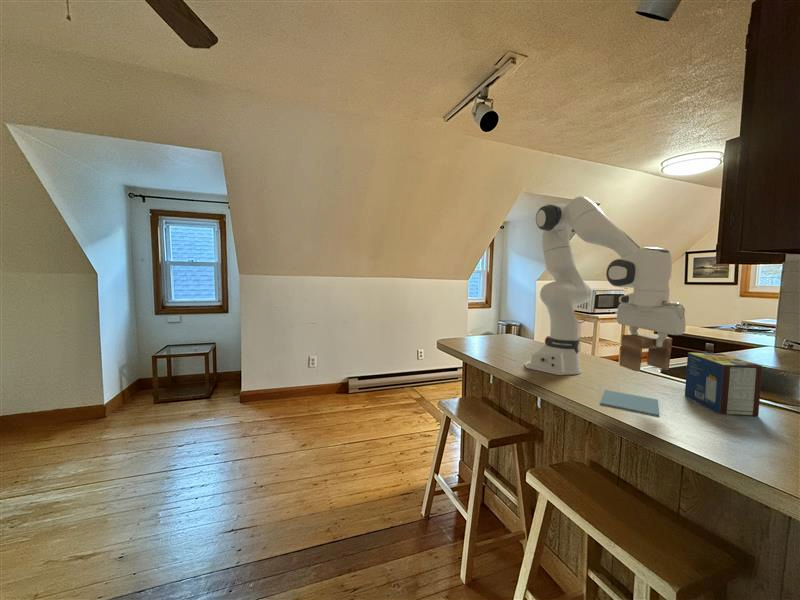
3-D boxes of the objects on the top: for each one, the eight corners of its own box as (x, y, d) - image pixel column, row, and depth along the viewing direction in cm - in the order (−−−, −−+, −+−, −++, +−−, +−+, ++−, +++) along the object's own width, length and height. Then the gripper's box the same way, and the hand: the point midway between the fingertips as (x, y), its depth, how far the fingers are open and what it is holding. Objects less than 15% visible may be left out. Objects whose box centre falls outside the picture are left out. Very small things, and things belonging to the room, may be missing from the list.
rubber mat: (600, 404, 106) (600, 402, 106) (604, 391, 118) (604, 389, 118) (659, 416, 97) (659, 414, 97) (657, 401, 109) (657, 399, 109)
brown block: (638, 339, 99) (672, 338, 101) (622, 334, 104) (653, 334, 107) (635, 371, 100) (668, 369, 102) (619, 365, 106) (650, 364, 108)
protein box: (717, 397, 112) (721, 353, 111) (759, 417, 97) (764, 365, 96) (683, 395, 114) (686, 352, 113) (719, 414, 99) (723, 364, 98)
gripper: (694, 303, 92) (689, 351, 93) (630, 296, 112) (627, 336, 113) (675, 303, 91) (670, 352, 92) (614, 296, 111) (611, 337, 112)
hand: (646, 343), depth 103 cm, fingers closed on brown block, 6 cm apart
